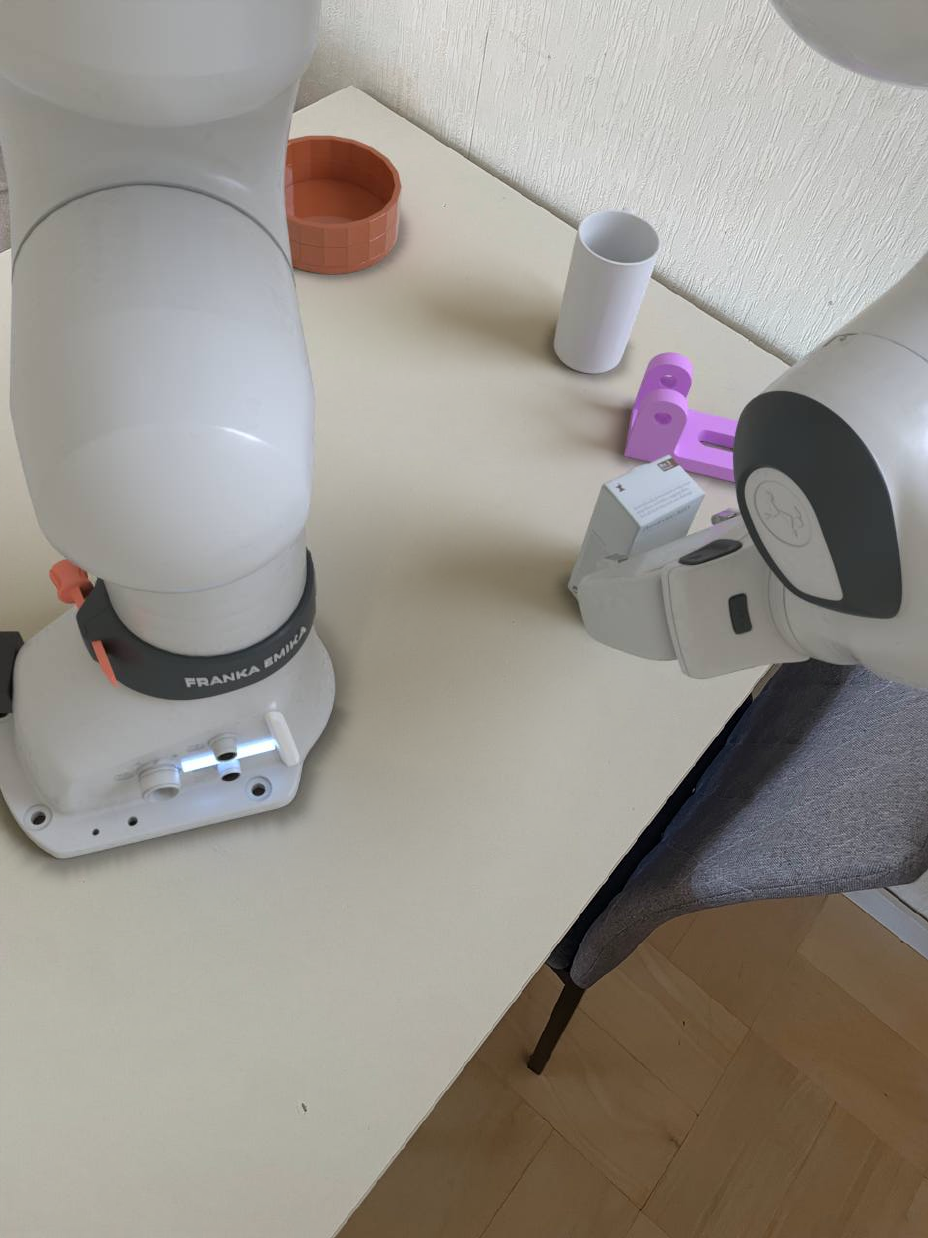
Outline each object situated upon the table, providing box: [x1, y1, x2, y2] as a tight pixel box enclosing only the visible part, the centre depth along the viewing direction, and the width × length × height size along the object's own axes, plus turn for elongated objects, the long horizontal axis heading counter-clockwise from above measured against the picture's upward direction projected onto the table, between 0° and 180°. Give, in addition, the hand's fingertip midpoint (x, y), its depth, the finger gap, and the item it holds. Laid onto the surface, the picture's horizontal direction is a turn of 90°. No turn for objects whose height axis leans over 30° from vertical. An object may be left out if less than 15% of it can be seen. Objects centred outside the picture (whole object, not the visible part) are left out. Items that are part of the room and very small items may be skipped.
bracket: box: [623, 351, 738, 483], centre depth 83 cm, size 13×6×7 cm, turn 78°
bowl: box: [285, 135, 403, 275], centre depth 94 cm, size 13×13×5 cm
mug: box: [553, 206, 662, 375], centre depth 87 cm, size 10×7×12 cm, turn 164°
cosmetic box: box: [567, 455, 706, 601], centre depth 72 cm, size 6×4×12 cm
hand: (664, 545), depth 69 cm, fingers open, 8 cm apart
